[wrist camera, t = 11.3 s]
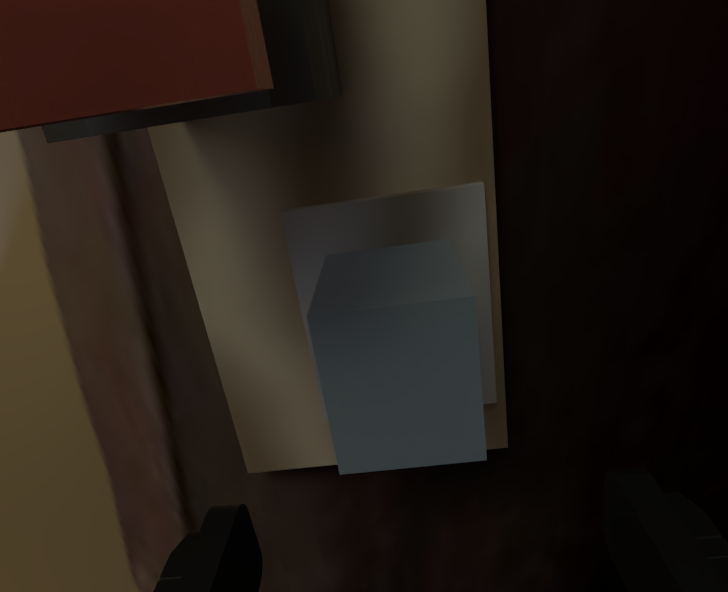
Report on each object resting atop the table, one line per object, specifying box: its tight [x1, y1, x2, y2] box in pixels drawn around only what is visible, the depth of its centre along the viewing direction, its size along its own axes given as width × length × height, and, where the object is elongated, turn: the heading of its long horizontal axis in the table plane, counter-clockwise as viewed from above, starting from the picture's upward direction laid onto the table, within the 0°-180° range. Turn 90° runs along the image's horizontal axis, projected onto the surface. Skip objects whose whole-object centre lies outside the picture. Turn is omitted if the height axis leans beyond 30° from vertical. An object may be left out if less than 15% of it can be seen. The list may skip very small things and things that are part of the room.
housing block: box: [307, 239, 487, 475], centre depth 19 cm, size 5×6×6 cm
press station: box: [41, 0, 508, 473], centre depth 17 cm, size 13×25×10 cm, turn 8°
